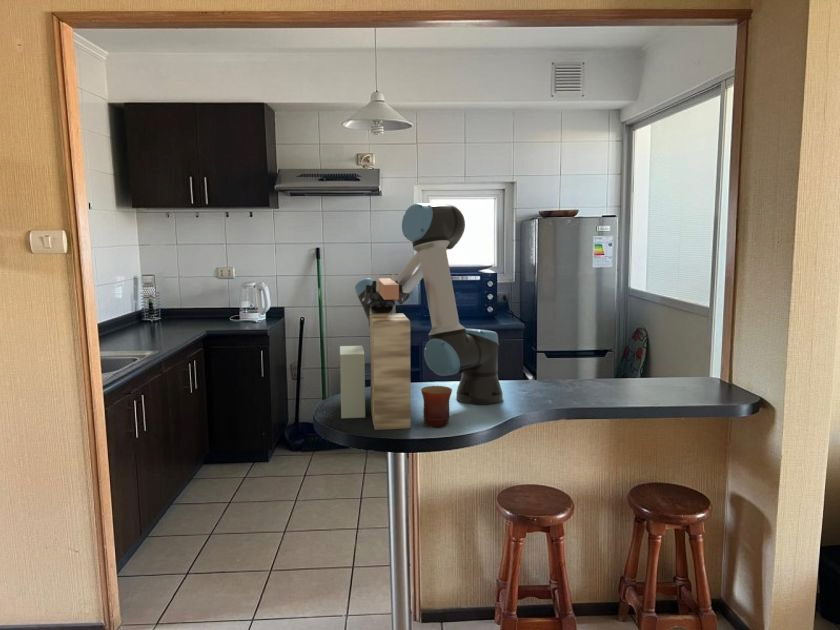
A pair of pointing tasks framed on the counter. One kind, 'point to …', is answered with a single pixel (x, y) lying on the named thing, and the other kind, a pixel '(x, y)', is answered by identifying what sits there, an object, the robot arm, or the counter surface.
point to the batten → (388, 289)
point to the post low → (352, 381)
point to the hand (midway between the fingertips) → (386, 278)
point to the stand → (390, 371)
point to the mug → (436, 406)
